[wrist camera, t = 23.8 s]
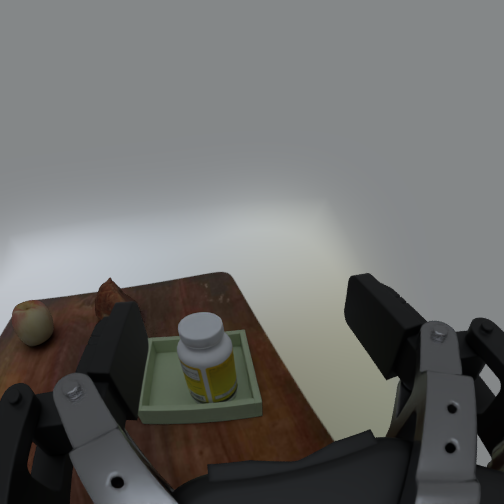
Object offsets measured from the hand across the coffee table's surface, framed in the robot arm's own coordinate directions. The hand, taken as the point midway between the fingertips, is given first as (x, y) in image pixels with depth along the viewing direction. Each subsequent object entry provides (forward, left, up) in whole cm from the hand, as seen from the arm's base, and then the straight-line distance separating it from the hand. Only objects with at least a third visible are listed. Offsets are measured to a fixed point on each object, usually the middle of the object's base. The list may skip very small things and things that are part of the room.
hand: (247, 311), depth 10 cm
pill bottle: (+3, -15, -23) cm, 27 cm away
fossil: (+21, -35, -23) cm, 47 cm away
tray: (+5, -17, -23) cm, 29 cm away
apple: (+37, -27, -23) cm, 51 cm away
